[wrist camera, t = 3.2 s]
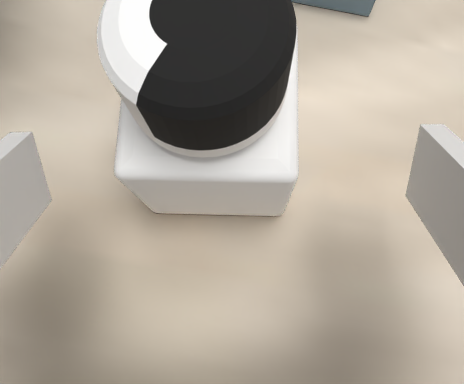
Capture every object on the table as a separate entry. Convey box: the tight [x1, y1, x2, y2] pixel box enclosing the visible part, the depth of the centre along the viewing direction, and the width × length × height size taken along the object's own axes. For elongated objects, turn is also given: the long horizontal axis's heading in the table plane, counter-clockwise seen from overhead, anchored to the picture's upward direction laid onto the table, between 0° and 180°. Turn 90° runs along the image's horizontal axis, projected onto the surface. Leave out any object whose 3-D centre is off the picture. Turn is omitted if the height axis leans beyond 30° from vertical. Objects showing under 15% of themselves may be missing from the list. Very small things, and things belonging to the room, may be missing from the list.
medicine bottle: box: [97, 0, 299, 216], centre depth 18 cm, size 7×7×12 cm
